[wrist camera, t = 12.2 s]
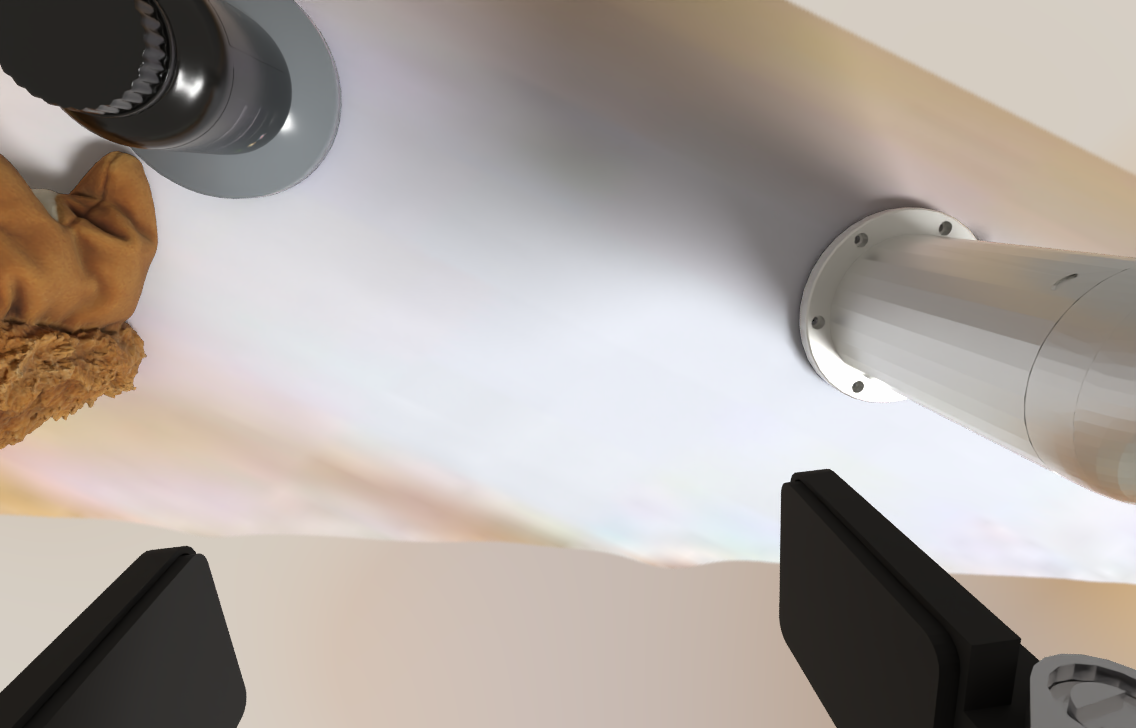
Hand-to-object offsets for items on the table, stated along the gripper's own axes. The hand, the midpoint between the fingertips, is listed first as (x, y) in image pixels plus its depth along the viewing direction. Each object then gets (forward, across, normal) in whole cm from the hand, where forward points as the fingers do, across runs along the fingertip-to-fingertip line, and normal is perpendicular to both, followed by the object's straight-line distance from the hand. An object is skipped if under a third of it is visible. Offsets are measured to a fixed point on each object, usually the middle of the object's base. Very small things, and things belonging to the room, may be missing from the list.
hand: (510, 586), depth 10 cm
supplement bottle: (+26, +13, -12) cm, 31 cm away
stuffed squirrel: (+27, +24, -3) cm, 36 cm away
